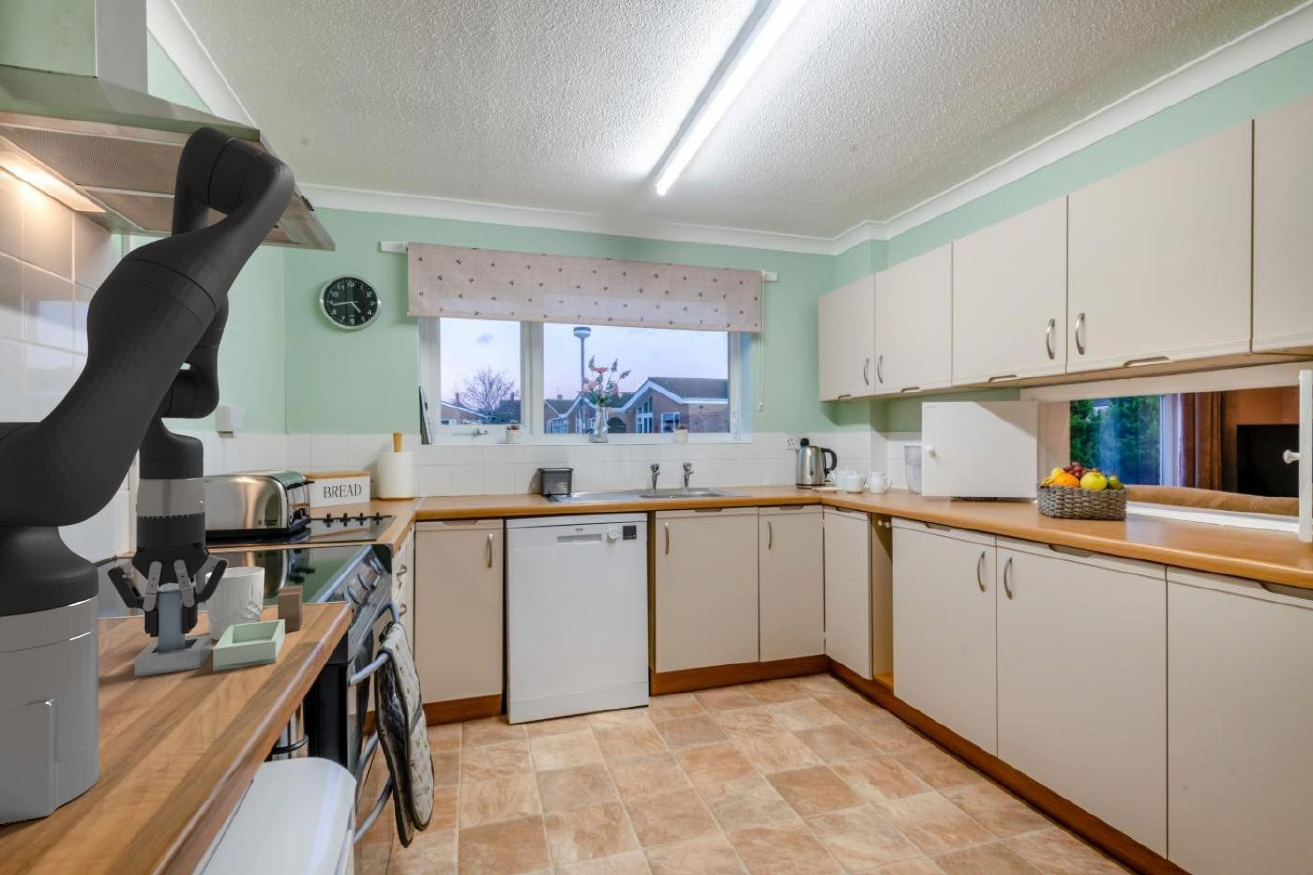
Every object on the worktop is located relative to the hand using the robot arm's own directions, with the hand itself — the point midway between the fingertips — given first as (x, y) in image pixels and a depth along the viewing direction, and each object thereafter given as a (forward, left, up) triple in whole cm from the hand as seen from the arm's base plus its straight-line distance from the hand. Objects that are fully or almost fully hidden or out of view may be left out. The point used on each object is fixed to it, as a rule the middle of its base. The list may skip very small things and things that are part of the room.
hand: (171, 633), depth 84 cm
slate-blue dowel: (0, 0, -3) cm, 3 cm away
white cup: (+12, -6, -5) cm, 14 cm away
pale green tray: (0, -9, -4) cm, 10 cm away
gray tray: (0, 0, -4) cm, 4 cm away
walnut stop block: (+12, -13, -4) cm, 18 cm away
